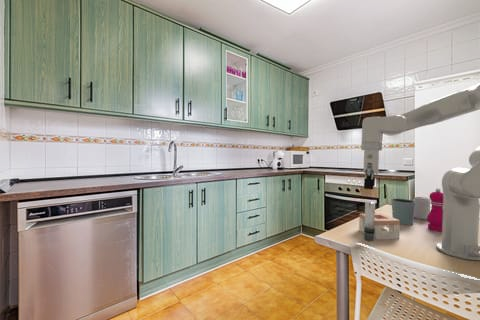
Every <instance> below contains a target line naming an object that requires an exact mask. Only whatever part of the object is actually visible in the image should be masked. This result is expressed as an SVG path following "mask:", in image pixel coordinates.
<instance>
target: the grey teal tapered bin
mask: <svg viewBox="0 0 480 320" xmlns="http://www.w3.org/2000/svg"><path fill="white" fill-rule="evenodd" d="M414 207H415V201H413V199H412V200H411V199H406V198H391V210H392V211H391V212H392V216H391V217H392V218H395V219H398V220H400V226H401V225H403V226H413V224H414V215H413V214H414Z"/></svg>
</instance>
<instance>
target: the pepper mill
mask: <svg viewBox="0 0 480 320" xmlns="http://www.w3.org/2000/svg"><path fill="white" fill-rule="evenodd" d="M428 198H429V200H430V205H431V207H430V213H429V214H428V216H427V220H426V222H427V223H428V224H427V229H428V230H430V231H434V232H440V233H442V221H443V192H441V189H440V188H436V189H435V191H432V192H431V193H430V194H429V196H428Z"/></svg>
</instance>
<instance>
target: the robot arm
mask: <svg viewBox="0 0 480 320" xmlns="http://www.w3.org/2000/svg"><path fill="white" fill-rule="evenodd" d="M479 110H480V83H477V84H476V85H473V86H471V87H468V88H465V89H463V90H460V91H457V92H454V93H451V94H448V95H446V96H443V97H440V98H437V99H434V100H431V101H429V102H427V103H425V104H423V105H420V106H419V107H416V108H415V109H412V110H410V111H407V112H405V113H401V114H399V115H398V114H395V115H390V116H370V117H369V116H368V117H365V118H363V120H362V125H361V126H362V127H361V128H362V129H361V145H360V147H361V148H360V149H361V151H364V152H363V174H365V175H364V179H363V180H364V181H363V188H364V190H373V189H374V187H375V184H376V183H375V181H376V177H375V175H378V173H379V164H380V163H379V162H380V151H381V152H382V151H383V140H384V139H383V138H384V137H383V135H385V136H390V137H392V136H396V135H400V134H402V133H406V132H408V131H411V130H415V129H418V128H421V127H425V126H430V125H435V124H438V123H442V122H444V121H448V120H451V119H453V118H457V117H460V116H463V115H466V114H469V113H473V112H476V111H479ZM468 162H469V165H470V166H471V167H470V168H465V167H456V168H452V169H451V168H450V169H449V170H448V171H446V172H445V173H444V174H443V176H442V179H441V187H442V193H443V221H442V232H441V242H437V243H436V244H435V248H436V249H437V250H438V251H439V252H442V253H443V254H446V255H449V256H452V257H453V258H454V257H455V258H458V259H464V260H469V261H480V244H479V232H480V230H479V229H480V145H479V146H478V147H477V148H476V149H474V150H473V151H472V152H471V154H470V155H469V157H468Z"/></svg>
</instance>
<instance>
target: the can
mask: <svg viewBox="0 0 480 320" xmlns="http://www.w3.org/2000/svg"><path fill="white" fill-rule="evenodd" d="M412 201H415V207H414V214H413V215H414V217H413V219H417V220H421V221H427V216H428V214H429V213H430V211H431V200H430V197H427V196H426V197H425V196H414V198H413V199H412Z"/></svg>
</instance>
